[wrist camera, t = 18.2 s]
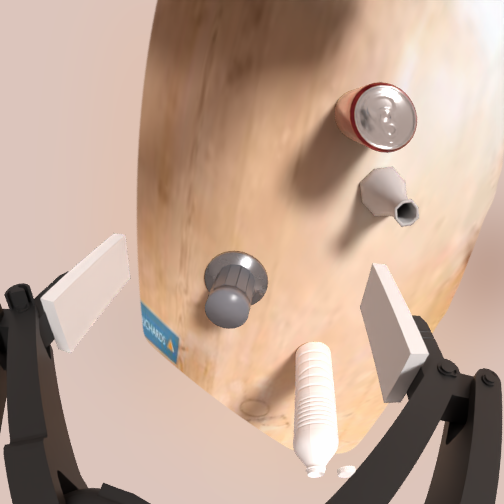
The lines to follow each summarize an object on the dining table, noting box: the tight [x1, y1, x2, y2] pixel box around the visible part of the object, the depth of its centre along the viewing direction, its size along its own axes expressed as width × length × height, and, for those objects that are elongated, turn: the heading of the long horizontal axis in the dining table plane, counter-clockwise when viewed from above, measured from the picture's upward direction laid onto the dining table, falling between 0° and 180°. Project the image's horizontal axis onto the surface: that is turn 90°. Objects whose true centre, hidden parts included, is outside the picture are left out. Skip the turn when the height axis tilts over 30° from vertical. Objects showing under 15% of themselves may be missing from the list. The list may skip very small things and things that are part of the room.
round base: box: [205, 251, 268, 305], centre depth 47 cm, size 10×10×6 cm
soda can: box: [335, 82, 417, 153], centre depth 31 cm, size 7×7×12 cm
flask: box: [360, 167, 419, 227], centre depth 36 cm, size 7×7×10 cm
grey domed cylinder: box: [205, 264, 255, 328], centre depth 45 cm, size 6×6×8 cm
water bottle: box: [293, 342, 356, 478], centre depth 43 cm, size 9×6×25 cm
